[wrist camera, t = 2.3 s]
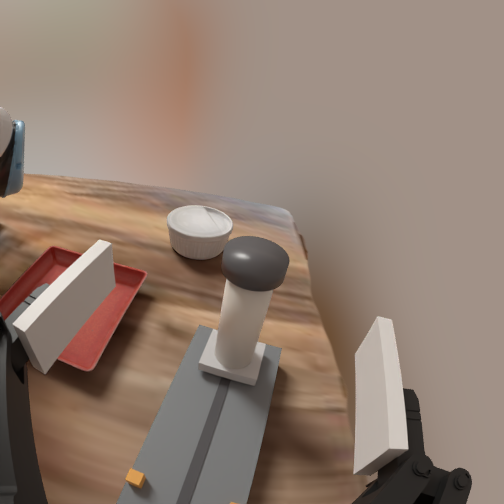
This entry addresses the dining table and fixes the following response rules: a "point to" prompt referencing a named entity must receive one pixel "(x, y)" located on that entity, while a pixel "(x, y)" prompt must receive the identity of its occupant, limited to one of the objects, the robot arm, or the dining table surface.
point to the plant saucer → (99, 323)
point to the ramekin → (198, 231)
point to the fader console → (203, 435)
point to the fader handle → (244, 307)
